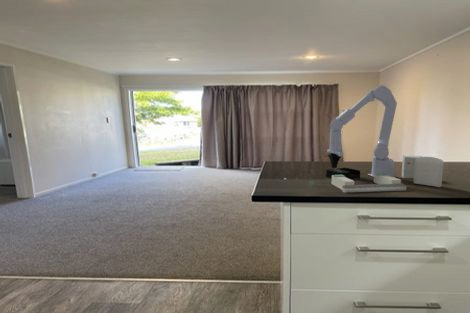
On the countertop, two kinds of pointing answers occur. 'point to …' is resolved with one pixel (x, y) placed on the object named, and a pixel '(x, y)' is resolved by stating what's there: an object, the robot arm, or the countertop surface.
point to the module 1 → (341, 181)
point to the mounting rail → (373, 187)
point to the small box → (408, 166)
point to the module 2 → (385, 179)
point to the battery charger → (343, 173)
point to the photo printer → (428, 171)
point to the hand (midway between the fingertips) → (334, 167)
